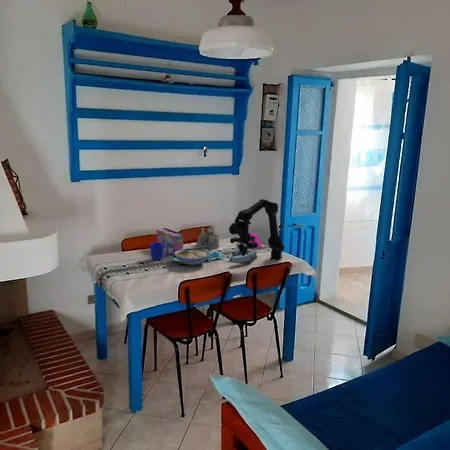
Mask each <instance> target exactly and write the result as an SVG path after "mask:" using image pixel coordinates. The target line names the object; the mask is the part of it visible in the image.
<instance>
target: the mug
mask: <svg viewBox="0 0 450 450" xmlns="http://www.w3.org/2000/svg"><path fill="white" fill-rule="evenodd" d="M149 245H150V246H149V247H150V255H151V256H150V257H151V260H154V261H159V260H162V259H163V258H166V257H167V256H168V254H169V252H168V246H163V244H162V243H157V242H153V243H150V244H149ZM163 247H167V252H166V254H165V255H163V253H164V250H163Z"/></svg>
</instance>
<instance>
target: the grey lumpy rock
mask: <svg viewBox="0 0 450 450" xmlns="http://www.w3.org/2000/svg"><path fill="white" fill-rule="evenodd" d="M196 246H197V247H198V248H201V247H209V248H210V249H211V250H213V249H218V248H220V238H219V235H218V234H216V232H215V228H214V227H213V225H212V224H210V225H209V227H208V228H207V230H206V232H205V228H204V227H202V228H201V232H200V234H199V235H198V236H197V242H196Z"/></svg>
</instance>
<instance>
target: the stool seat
mask: <svg viewBox="0 0 450 450" xmlns="http://www.w3.org/2000/svg"><path fill="white" fill-rule="evenodd" d="M246 254H251V260H250V261H245V262H240V263H241V264H247V265H250V264H252V263H253V262H254V261H256V260H257V259H258V255H257V250H253V249H247V251H246V253H245V255H246ZM240 255H242V254H241V252H240V250H239V248H235V249H234V250H233V251H232V252H231V257H230V258H229V262H232V257H235V256H240Z"/></svg>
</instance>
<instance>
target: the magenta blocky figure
mask: <svg viewBox="0 0 450 450" xmlns="http://www.w3.org/2000/svg"><path fill="white" fill-rule="evenodd" d="M249 233H250V236H254V237H255V240H254V241H250V242H256V243H257V244H258V247H256V248H255V249H262V248H263V245H262V241H261V240H260V236H259V235H258V234H256V233H252V232H251V231H250V230H249ZM248 249H250V248H248Z"/></svg>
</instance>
